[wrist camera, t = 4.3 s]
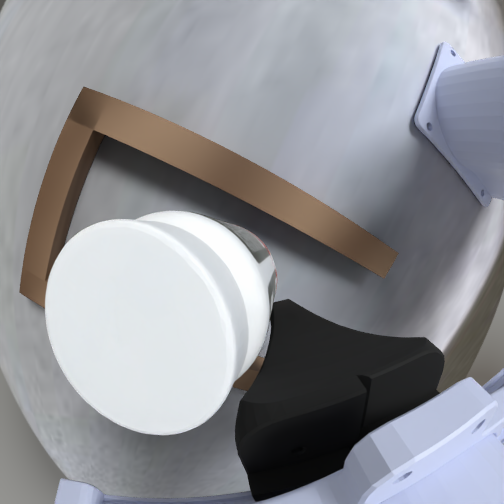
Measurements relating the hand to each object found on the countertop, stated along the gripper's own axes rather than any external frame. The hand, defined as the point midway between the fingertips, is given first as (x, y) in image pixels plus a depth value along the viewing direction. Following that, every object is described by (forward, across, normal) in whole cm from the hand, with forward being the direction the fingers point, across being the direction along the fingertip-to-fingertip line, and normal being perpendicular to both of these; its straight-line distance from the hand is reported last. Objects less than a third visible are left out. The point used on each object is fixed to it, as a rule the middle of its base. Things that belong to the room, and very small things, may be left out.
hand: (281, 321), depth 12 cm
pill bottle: (+2, +2, -2) cm, 3 cm away
